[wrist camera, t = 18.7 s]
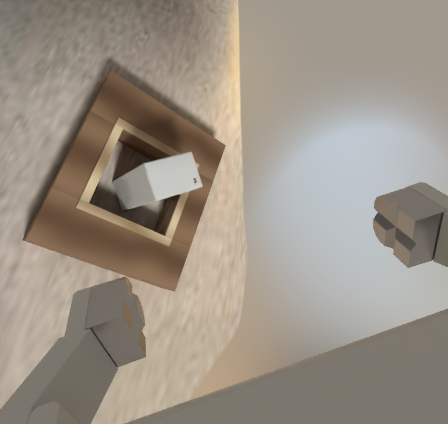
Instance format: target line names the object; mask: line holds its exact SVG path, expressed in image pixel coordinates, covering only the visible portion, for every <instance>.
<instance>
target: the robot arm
mask: <svg viewBox="0 0 448 424" xmlns="http://www.w3.org/2000/svg"><path fill="white" fill-rule="evenodd" d="M374 208H375V209H376V211H377V212H378V213H377V215H376V216H375V218H374V220H373V228H374V231H375V234H376V236H377V238H378V239H379V241H380V242H381V243H382V244H383V245H384V246H387V247H390V248H393V249H394V255H395V256H396V257H397V258H398V259H399V260H400V261H401V262H402V263H403V264H404V265H406V266H407V267H408V268H409V267H412V266H416V265H419V264H422V263H425V262H429V261H432V260H434V262H437V263H439V264H441V265H444V266H446V267H448V196H447V195H445V194H443V193H441V192H440V191H438V190H436V189H435V188H433V187H431V186H430V185H428V184H426V183H422V182H420V183H417V184H414V185H411V186H408V187H406V188H404V189H400V190H397V191H394V192H391V193H388V194H385V195H382V196H379V197H377V198H376V200H375V203H374ZM144 326H145V320H144V313H143V308H142V305H141V303H140V300H139V298H138V296H137V295H135V294H133V293H132V285H131V283H130V281H129V279H128V278H127V277H123V278H119V279H116V280H112V281H109V282H106V283H102V284H99V285H95V286H93V287H89V288H86V289H83V290H79V291H76V292H75V294H74V295H73V299H72V303H71V308H70V313H69V318H68V323H67V327H66V332H65V337H62V338H59V339H58V341H57V342H56V343H55V344H54V346H53V347H52V348H51V349H50V350H49V352H48V353H47V354H46V355H45V356H44V358H43V359H42V360H41V361H40V362H39V364H38V365H37V366H36V367H35V368H34V370H33V371H32V372H31V373H30V374H29V376H28V377H27V378H26V379H25V381H24V382H23V383H22V384H21V385H20V387H19V388H18V389H17V390H16V391H15V393H14V394H13V395H12V396H11V397H10V399H9V400H8V401H7V402H6V403H5V405H4V406H3V407H2V408H1V409H0V424H91V422H92V420H93V418H94V416H95V414H96V412H97V410H98V408H99V406H100V404H101V402H102V400H103V398H104V396H105V394H106V392H107V390H108V388H109V386H110V384H111V382H112V380H113V378H114V376H115V374H116V372H117V370H118V368H117V367H120V366H123V365H125V364H128V363H131V362H133V361H136V360H139V359H142V358H144V357H146V342H145V336H144V334H143V332H142V329H143V327H144ZM125 424H448V309H446V310H443V311H440V312H438V313H435V314H432V315H429V316H426V317H423V318H421V319H418V320H415V321H412V322H409V323H407V324H404V325H401V326H398V327H395V328H392V329H390V330H387V331H384V332H381V333H378V334H376V335H373V336H370V337H367V338H364V339H361V340H359V341H356V342H353V343H350V344H347V345H345V346H342V347H339V348H336V349H333V350H330V351H328V352H325V353H322V354H319V355H317V356H314V357H311V358H308V359H305V360H302V361H299V362H297V363H294V364H291V365H288V366H285V367H283V368H280V369H277V370H274V371H271V372H268V373H265V374H263V375H260V376H257V377H254V378H251V379H249V380H246V381H243V382H240V383H237V384H235V385H232V386H229V387H226V388H224V389H220V390H218V391H215V392H212V393H209V394H207V395H204V396H201V397H198V398H195V399H192V400H189V401H187V402H184V403H181V404H178V405H175V406H173V407H170V408H167V409H164V410H161V411H158V412H156V413H153V414H150V415H147V416H144V417H142V418H139V419H136V420H133V421H130V422H128V423H125Z"/></svg>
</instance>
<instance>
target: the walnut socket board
mask: <svg viewBox="0 0 448 424" xmlns="http://www.w3.org/2000/svg"><path fill="white" fill-rule="evenodd" d="M117 141H120V142H122V143H123V144H125V145H127V146H129V147H131V148H132V149H134V150H136V151H138V152H140V153H141V154H143V155H145V156H147V157H149V158H150V159H152V160H158V159H162V158H166V157H170V156H173V155H177V154H182V153H187V152H192V154H193V157H194V160H195V163H196V167H197V170H198V173H199V176H200V179H201V182H202V185H203V186H202V187H201V188H198V189H195V190H192V191H188V192H185V193H182V194H179V195H175V196H172V197H168V198H167V200H166V203H165V205H164V208H163V210H162V213H161V216H160V218H159V221H158V223H157V226H156V228H155V231H152V230H150V229H148V228H145V227H143V226H141V225H138V224H136V223H134V222H131V221H129V220H127V219H124V218H122V217H120V216H118V215H115V214H113V213H111V212H108V211H106V210H104V209H101V208H99V207H97V206H94V205H92V204H90V203H89V202H90V199H91V197H92V195H93V193H94V191H95V189H96V186H97V184H98V182H99V180H100V178H101V176H102V173H103V171H104V169H105V167H106V165H107V163H108V160H109V158H110V156H111V154H112V152H113V150H114V147H115V145H116V143H117ZM224 148H225V145H224V144H223V143H221V142H220V141H218V140H217V139H215V138H213V137H212V136H210V135H209V134H207V133H206V132H204V131H203V130H201V129H200V128H198V127H197V126H195V125H194V124H192V123H191V122H189V121H188V120H186V119H185V118H183V117H182V116H180V115H179V114H177V113H176V112H174V111H172V110H171V109H169V108H168V107H166V106H165V105H163V104H162V103H160V102H159V101H157V100H156V99H154V98H153V97H151V96H150V95H148V94H147V93H145V92H144V91H142V90H141V89H139V88H138V87H136V86H135V85H133V84H131V83H130V82H128V81H127V80H125V79H124V78H122V77H121V76H119V75H118V74H116V73H115V72H113V71H112V70H111V71H110V73H109V74H108V76H107V77H106V79H105V80H104V82H103V83H102V85H101V87H100V89H99V91H98V93H97V95H96V97H95V99H94V101H93V103H92V105H91V107H90V109H89V111H88V113H87V115H86V117H85V119H84V121H83V123H82V125H81V127H80V129H79V131H78V133H77V135H76V137H75V139H74V141H73V143H72V145H71V146H70V148H69V150H68V152H67V154H66V156H65V158H64V160H63V162H62V164H61V166H60V168H59V170H58V172H57V174H56V176H55V178H54V180H53V182H52V184H51V186H50V188H49V190H48V192H47V194H46V196H45V198H44V200H43V202H42V204H41V206H40V208H39V210H38V212H37V214H36V216H35V218H34V220H33V222H32V223H31V225H30V227H29V229H28V231H27V233H26V235H25V237H24V239H23V240H24V241H26V242H29V243H32V244H35V245H38V246H41V247H44V248H47V249H50V250H53V251H56V252H59V253H62V254H64V255H67V256H70V257H73V258H76V259H79V260H82V261H85V262H88V263H91V264H94V265H97V266H99V267H102V268H105V269H108V270H111V271H114V272H117V273H120V274H123V275H126V276H129V277H132V278H135V279H137V280H140V281H143V282H146V283H149V284H152V285H155V286H158V287H161V288H164V289H168V290H172V291H175V289H176V286H177V284H178V281H179V278H180V275H181V272H182V269H183V266H184V263H185V261H186V258H187V255H188V252H189V249H190V246H191V243H192V240H193V238H194V235H195V232H196V229H197V226H198V223H199V220H200V217H201V215H202V212H203V209H204V206H205V203H206V200H207V197H208V194H209V191H210V189H211V186H212V183H213V180H214V177H215V174H216V171H217V168H218V166H219V163H220V160H221V157H222V154H223V151H224Z"/></svg>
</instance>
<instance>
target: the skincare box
mask: <svg viewBox="0 0 448 424" xmlns="http://www.w3.org/2000/svg"><path fill="white" fill-rule="evenodd" d="M113 186H114V188H115V191H116V194H117V197H118V200H119V203H120V206H121V209H122V211H124V210H128V209H132V208H135V207H138V206H142V205H145V204H149V203H152V202H155V201H159V200H162V199H165V198H168V197H172V196H175V195H179V194H182V193H185V192H188V191H192V190H195V189H198V188H201V187H202V186H203V185H202V182H201V179H200V176H199V173H198V170H197V167H196V163H195V160H194V157H193V154H192V152H187V153H182V154H177V155H173V156H170V157H166V158H162V159H158V160H154V161H150V162H146V163H143V164H142V165H140V166H138V167H136V168H134V169H133V170H131V171H129V172H127V173H126V174H124V175H122V176H120V177H119V178H117V179H115V180H114V181H113Z"/></svg>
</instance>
